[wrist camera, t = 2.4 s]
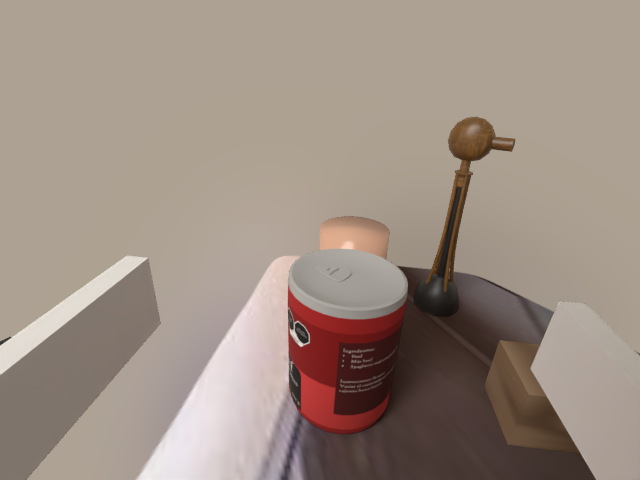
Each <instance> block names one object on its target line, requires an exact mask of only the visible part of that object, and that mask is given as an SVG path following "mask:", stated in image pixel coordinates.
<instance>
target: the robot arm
mask: <svg viewBox="0 0 640 480" xmlns="http://www.w3.org/2000/svg"><path fill="white" fill-rule="evenodd" d="M160 324H161V323H160V318H159V312H158V307H157V302H156V296H155V291H154V286H153V281H152V275H151V270H150V265H149V260H148V258H143V257H134V256H126V257H124V258H123V259H122V260H120V261H119V262H117V263H116V264H114V266H112V267H110V268H109V269H107V270H106V271H105V272H103V273H102V274H100V275H99V276H98V277H96V278H95V279H93V280H92V281H91V282H89V283H88V284H86V285H85V286H84V287H82V288H81V289H79V290H78V291H76V292H75V293H74V294H72V295H71V296H69V297H68V298H67V299H65V300H64V301H62V302H61V303H60V304H58V305H57V306H55V307H54V308H53V309H51V310H50V311H49V312H47V313H46V314H44V315H43V316H41V317H40V318H39V319H37V320H36V321H34V322H33V323H31V324H30V325H29V326H27V327H26V328H24V329H23V330H22V331H20V332H19V333H17V334H16V335H15V336H13V337H9V338H7V339H5V340H2V341H0V480H27V478H28V477H29V476H30V475H31V474H32V472H33V471H34V470H35V469H36V468H37V467H38V466H39V464H40V463H41V462H42V461H43V460H44V459H45V457H46V456H47V455H48V454H49V453H50V451H51V450H52V449H53V448H54V447H55V446H56V445H57V443H58V442H59V441H60V440H61V439H62V438H63V437H64V435H65V434H66V433H67V432H68V431H69V429H70V428H71V427H72V426H73V425H74V424H75V423H76V421H77V420H78V419H79V418H80V417H81V416H82V414H83V413H84V412H85V411H86V410H87V409H88V407H89V406H90V405H91V404H92V403H93V402H94V400H95V399H96V398H97V397H98V396H99V395H100V393H101V392H102V391H103V390H104V389H105V388H106V386H107V385H108V384H109V383H110V382H111V381H112V380H113V378H114V377H115V376H116V375H117V374H118V373H119V371H120V370H121V369H122V368H123V367H124V365H125V364H126V363H127V362H128V361H129V360H130V359H131V357H132V356H133V355H134V354H135V353H136V352H137V350H138V349H139V348H140V347H141V346H142V345H143V343H144V342H145V341H146V340H147V338H148V337H149V336H150V335H151V334H152V333H153V332H154V331H155V329H156V328H157V327H158V326H159V325H160ZM530 369H531V371H532V372H533V374H534V376H535V377H536V379H537V381H538V382H539V384H540V386H541V387H542V389H543V391H544V392H545V394H546V396H547V398H548V399H549V401H550V403H551V404H552V406H553V408H554V409H555V411H556V413H557V414H558V416H559V418H560V419H561V421H562V423H563V425H564V426H565V428H566V430H567V431H568V433H569V435H570V436H571V438H572V440H573V441H574V443H575V445H576V446H577V448H578V450H579V452H580V453H581V455H582V457H583V458H584V460H585V462H586V463H587V465H588V467H589V468H590V470H591V472H592V473H593V475H594V477H595V478H596V480H640V356H639V355H638V354H637V353H636V352H635V351H634V350H633V349H632V348H631V347H630V346H629V345H628V344H627V343H626V342H625V341H624V340H623V339H622V338H620V336H619V335H618V334H617V333H616V332H615V331H613V330H612V329H611V328H610V327H609V326H608V325H607V324H606V323H605V322H604V321H603V320H602V319H601V318H600V317H599V316H598V315H597V314H596V313H595V312H594V311H593V310H592V309H591V308H590V307H589V306H588V305H587V304H584V303H574V302H565V301H559V302H558V305H557V307H556V309H555V312H554V314H553V316H552V319H551V321H550V324H549V326H548V328H547V331H546V333H545V335H544V338H543V340H542V342H541V345H540V347H539V349H538V352H537V354H536V356H535V359H534V361H533V364H532V366H531V368H530Z"/></svg>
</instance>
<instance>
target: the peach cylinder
mask: <svg viewBox="0 0 640 480" xmlns="http://www.w3.org/2000/svg"><path fill="white" fill-rule="evenodd" d="M389 233H390V232H389V229H388V228H387V227H386V226H385V225H384V224H382V223H380V222H378V221H375V220H372V219H368V218H362V217H354V216H346V217H345V216H344V217H336V218H332V219H329V220H326V221H325V222H323V223H322V224H321V226H320V248H319V250H324V249H353V250H359V251H364V252H368V253H371V254H375V255H377V256H380V257H382V258H384V259H386V256H387V249H388V241H389Z"/></svg>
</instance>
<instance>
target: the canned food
mask: <svg viewBox="0 0 640 480" xmlns="http://www.w3.org/2000/svg"><path fill="white" fill-rule="evenodd" d="M407 288H408V282H407V278H406V277H405V275H404V273H403V272H402V271H401V270H400V269H399V268H398V267H397V266H396V265H394V264H393V263H392V262H390V261H388V260H386V259H384V258H382V257H380V256H377V255H375V254H371V253H368V252H364V251H359V250H353V249H324V250H319V251H315V252H311V253H308V254H306V255H304V256H302V257H300V258H299V259H297V260H296V261H295V262H294V263H293V264H292V266H291V268H290V270H289V277H288V337H289V389H290V393H291V397H292V399H293V401H294V403H295V405H296V407H297V409H298V411H299V412H300V413H301V415H302V416H303V417H304V418H305V419H306V420H307V421H309V422H310V423H311V424H313V425H314V426H316V427H318V428H319V429H322V430H325V431H328V432H332V433H337V434H351V433H356V432H360V431H362V430H365V429H367V428H369V427H370V426H371V425H373V424H374V423H375V422H376V421H377V420H378V419H379V417H380V416H381V415H382V414H383V412H384V411H385V409H386V406H387V404H388V400H389V395H390V389H391V384H392V378H393V373H394V367H395V362H396V357H397V351H398V346H399V340H400V335H401V329H402V324H403V318H404V313H405V307H406V300H407V294H408V290H407Z"/></svg>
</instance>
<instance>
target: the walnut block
mask: <svg viewBox="0 0 640 480" xmlns="http://www.w3.org/2000/svg"><path fill="white" fill-rule="evenodd" d="M540 345H541V344H533V343H523V342H513V341H503V340H500V341H499V344H498V347H497V350H496V353H495V356H494V358H493V361H492V364H491V367H490V370H489V373H488V376H487V379H486V382H485V385H484V387H485V389H486V392H487V394H488V397H489V399H490V402H491V404H492V407H493V409H494V412H495V414H496V417H497V419H498V422H499V424H500V427H501V429H502V432H503V434H504V437H505V439H506V442H507V444H508V445H515V446H523V447H530V448H538V449H546V450H553V451H561V452H569V453H576V454H581V453H580V452H579V450H578V448H577V446H576V445H575V443H574V441H573V440H572V438H571V436H570V435H569V433H568V431H567V430H566V428H565V426H564V425H563V423H562V421H561V419H560V418H559V416H558V414H557V413H556V411H555V409H554V408H553V406H552V404H551V403H550V401H549V399H548V398H547V396H546V394H545V392H544V391H543V389H542V387H541V386H540V384H539V382H538V381H537V379H536V377H535V376H534V374H533V372H532V371H531V369H530V368H531V366H532V364H533V361H534V359H535V356H536V354H537V352H538V349H539V347H540Z"/></svg>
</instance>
